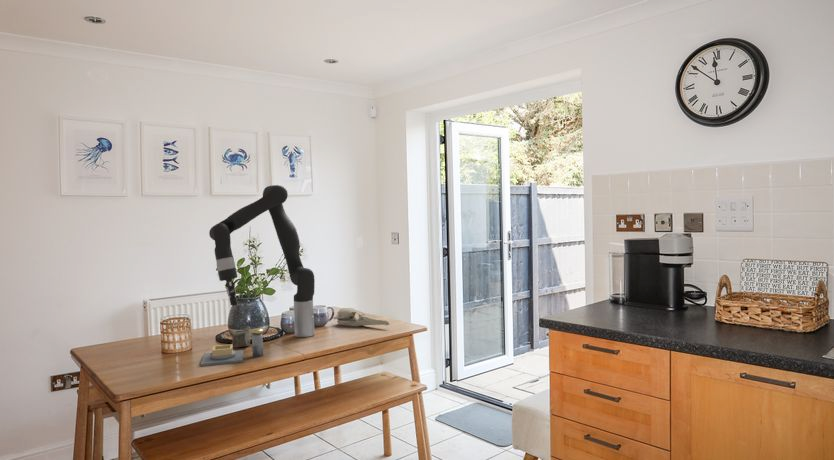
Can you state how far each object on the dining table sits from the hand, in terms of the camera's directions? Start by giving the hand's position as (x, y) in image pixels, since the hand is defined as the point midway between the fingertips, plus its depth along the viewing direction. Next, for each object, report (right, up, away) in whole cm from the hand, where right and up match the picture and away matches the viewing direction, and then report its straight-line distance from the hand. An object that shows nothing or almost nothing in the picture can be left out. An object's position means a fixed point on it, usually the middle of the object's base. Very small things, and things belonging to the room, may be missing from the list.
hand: (234, 305), depth 234 cm
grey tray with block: (-1, -21, -10) cm, 23 cm away
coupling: (+12, -21, -6) cm, 25 cm away
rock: (-1, -20, +14) cm, 25 cm away
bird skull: (+52, -18, +46) cm, 72 cm away
